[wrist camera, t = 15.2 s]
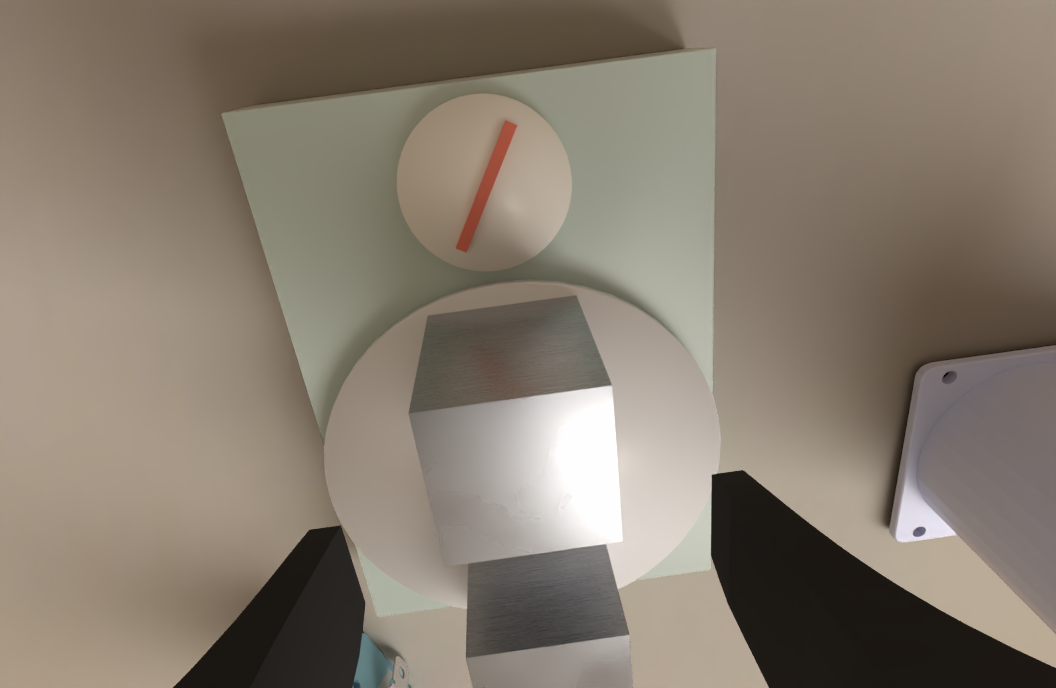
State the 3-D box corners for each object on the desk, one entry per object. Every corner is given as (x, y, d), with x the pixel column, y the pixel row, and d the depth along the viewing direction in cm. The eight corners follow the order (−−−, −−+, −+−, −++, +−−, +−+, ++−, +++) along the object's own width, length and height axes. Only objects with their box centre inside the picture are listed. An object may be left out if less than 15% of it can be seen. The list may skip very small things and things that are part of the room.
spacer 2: (594, 501, 20) (629, 634, 15) (603, 593, 21) (636, 737, 17) (469, 518, 20) (465, 658, 15) (487, 609, 21) (489, 759, 17)
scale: (686, 48, 17) (728, 47, 14) (690, 524, 25) (718, 587, 22) (253, 105, 17) (207, 116, 14) (386, 566, 24) (374, 636, 21)
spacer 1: (576, 294, 17) (612, 385, 12) (587, 421, 18) (622, 541, 14) (427, 315, 17) (408, 413, 12) (453, 439, 18) (444, 566, 14)
